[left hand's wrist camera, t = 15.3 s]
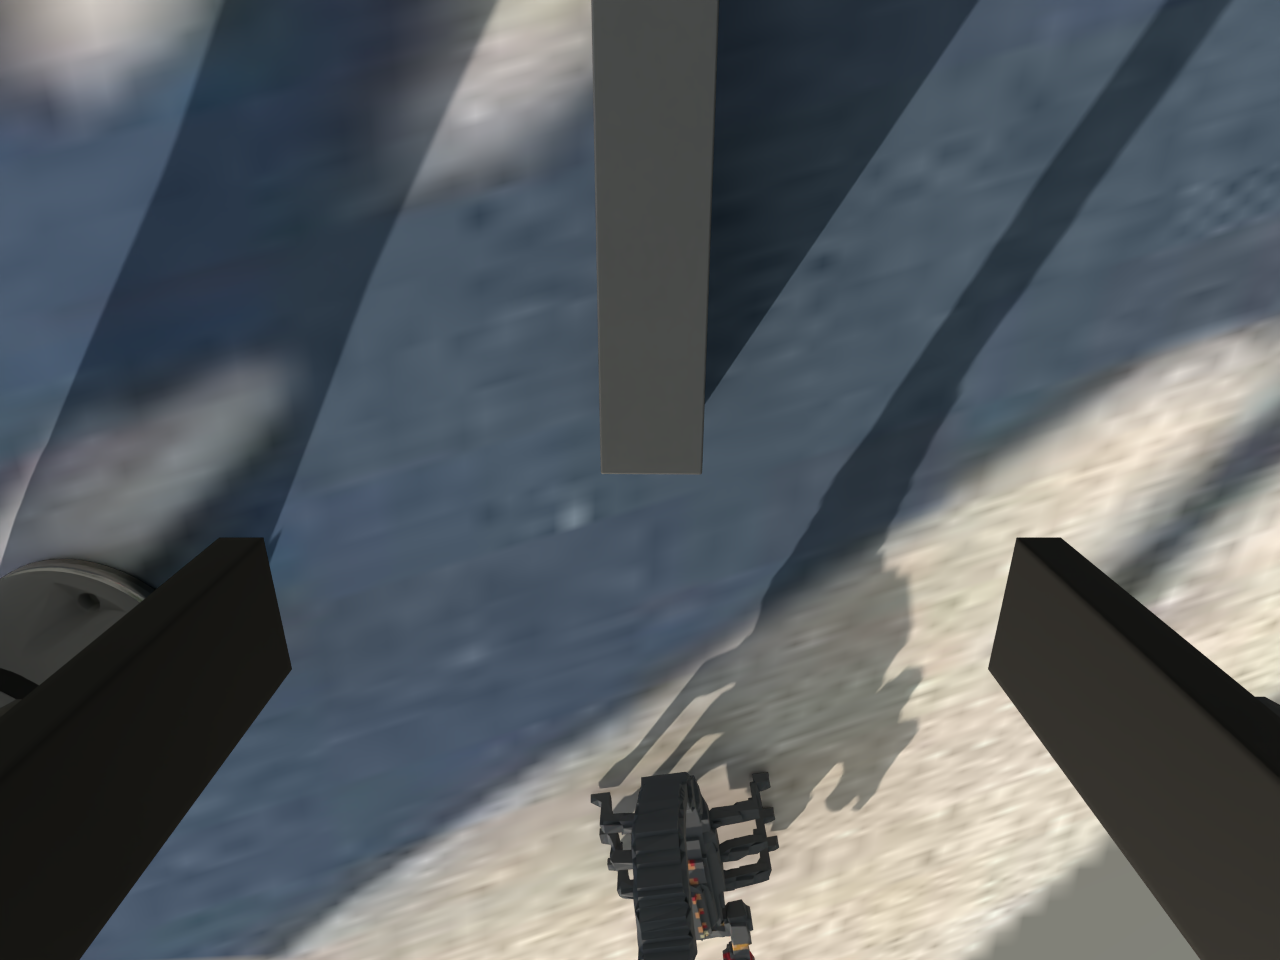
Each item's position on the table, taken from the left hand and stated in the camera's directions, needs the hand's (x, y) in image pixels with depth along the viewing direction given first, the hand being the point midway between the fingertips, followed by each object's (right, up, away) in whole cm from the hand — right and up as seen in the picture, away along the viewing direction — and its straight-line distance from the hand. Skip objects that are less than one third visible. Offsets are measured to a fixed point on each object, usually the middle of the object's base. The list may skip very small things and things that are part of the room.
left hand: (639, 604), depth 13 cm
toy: (+3, -25, +43) cm, 50 cm away
